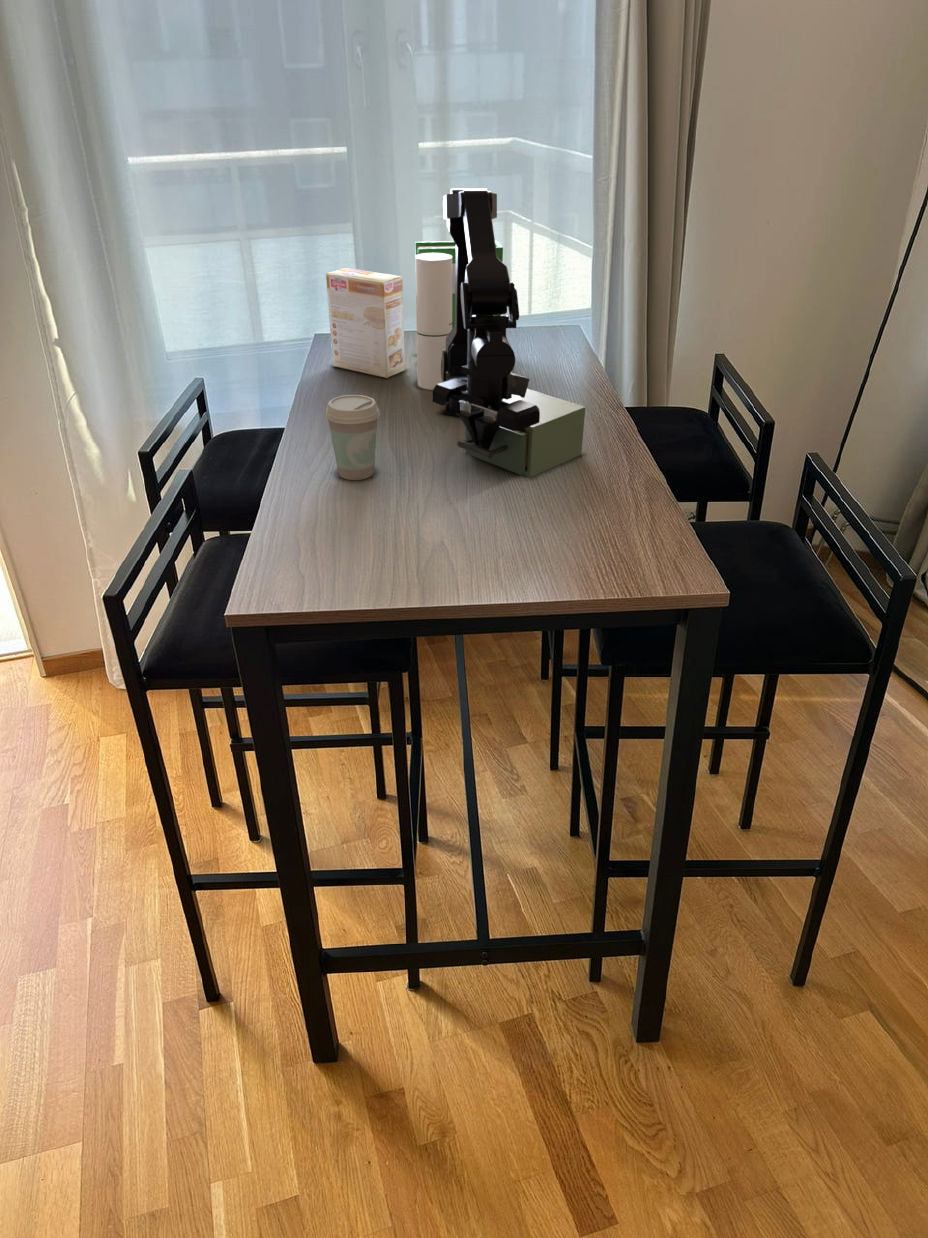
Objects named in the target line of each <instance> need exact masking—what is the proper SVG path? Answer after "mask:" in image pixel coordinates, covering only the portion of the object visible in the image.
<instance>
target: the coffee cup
mask: <svg viewBox="0 0 928 1238" xmlns="http://www.w3.org/2000/svg"><path fill="white" fill-rule="evenodd" d="M380 415H381V413H380V409H379V407H378V405H377V402H376V399H374V398H373V397H371V396H367V395H361V394H345V395H340V396H336V397H334V398H332V399H330V400H329V401H328V403H327V407H326V410H325V418H326V419H327V422H328V427H329V431H330V437H331V442H332V448H333V452H334V458H335V463H336V468H337V473H338V475H339V477H341V478H342V479H344V480H347V481H361V480H366V479H369V478H371V477H372V476H373V475H374V474H375V460H376V448H377V435H378V434H377V433H378V419H379V416H380Z"/></svg>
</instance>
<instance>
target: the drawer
mask: <svg viewBox="0 0 928 1238" xmlns="http://www.w3.org/2000/svg"><path fill="white" fill-rule="evenodd" d="M528 443H529V431H528V430H525V429H521V430H519V431H511V430H509V429H506V428H503V427H500V426H499V428H498V430H497V432H496V434H495V436H494V439H493V441H492V443H491V446H490V448H489V450H487V449H484V448H482V447H479V446H476V445H475V444H474V442H473V440H472V438H471V436H470V434H469V432H468V430H467V428H466V427H465V440H463V439H459V440H458V441H457V443H456V445H457V447H458V448H461V449H464V450H465V454H466V455H468V456H471V457H474V458H476V459H479V460H481V461H484V462H487V463H489V464H492V465H495V466H497V467H499V468H502V469H505V470H507V471H510V472H512V473H515V474H517V475H523V473H525V467H527V462H528Z"/></svg>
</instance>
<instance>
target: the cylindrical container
mask: <svg viewBox="0 0 928 1238" xmlns="http://www.w3.org/2000/svg"><path fill="white" fill-rule="evenodd" d="M414 257H415V258H414V263H415V268H414V269H415V271H414V272H415V315H416V319H415V320H416V321H415V322H416V323H415V324H416V369H417V370H416V371H417V372H416V374H417V377H416V378H417V379H416V380H417V386H418V387H419V388H421V389H423V390H431V391H433V389H434V387H435V386H436V384H439V383H442V378H441V358H442V351H446V338H447V336H448V335H449V333H450V332H451V330H452V256H451V255H449V254H444V253H423V254H418V255H416V256H415V255H414ZM446 373H448V372H446Z"/></svg>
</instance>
